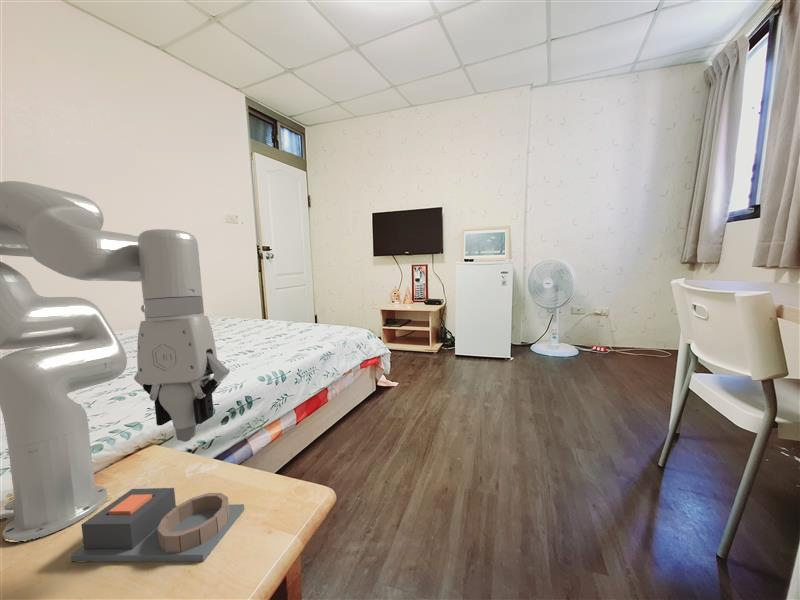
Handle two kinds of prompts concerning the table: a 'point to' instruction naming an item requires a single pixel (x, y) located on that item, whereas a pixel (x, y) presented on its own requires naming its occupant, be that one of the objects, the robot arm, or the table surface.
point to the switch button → (130, 504)
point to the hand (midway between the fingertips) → (185, 419)
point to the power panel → (153, 541)
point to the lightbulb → (180, 408)
